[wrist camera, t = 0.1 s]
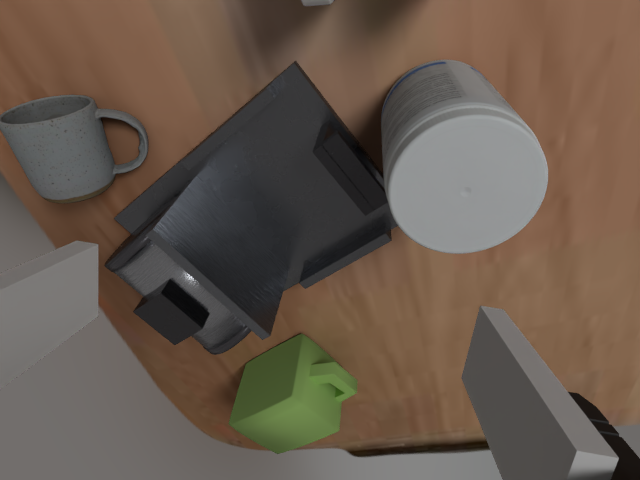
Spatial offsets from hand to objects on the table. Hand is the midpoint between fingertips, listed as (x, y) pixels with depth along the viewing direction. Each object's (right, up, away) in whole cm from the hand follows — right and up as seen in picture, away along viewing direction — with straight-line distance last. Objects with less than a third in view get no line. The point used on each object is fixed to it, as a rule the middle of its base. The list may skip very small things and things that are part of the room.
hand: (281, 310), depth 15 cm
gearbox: (-2, -15, +44) cm, 47 cm away
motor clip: (-5, +6, +31) cm, 31 cm away
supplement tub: (+12, +13, +23) cm, 29 cm away
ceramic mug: (-20, +13, +28) cm, 37 cm away
